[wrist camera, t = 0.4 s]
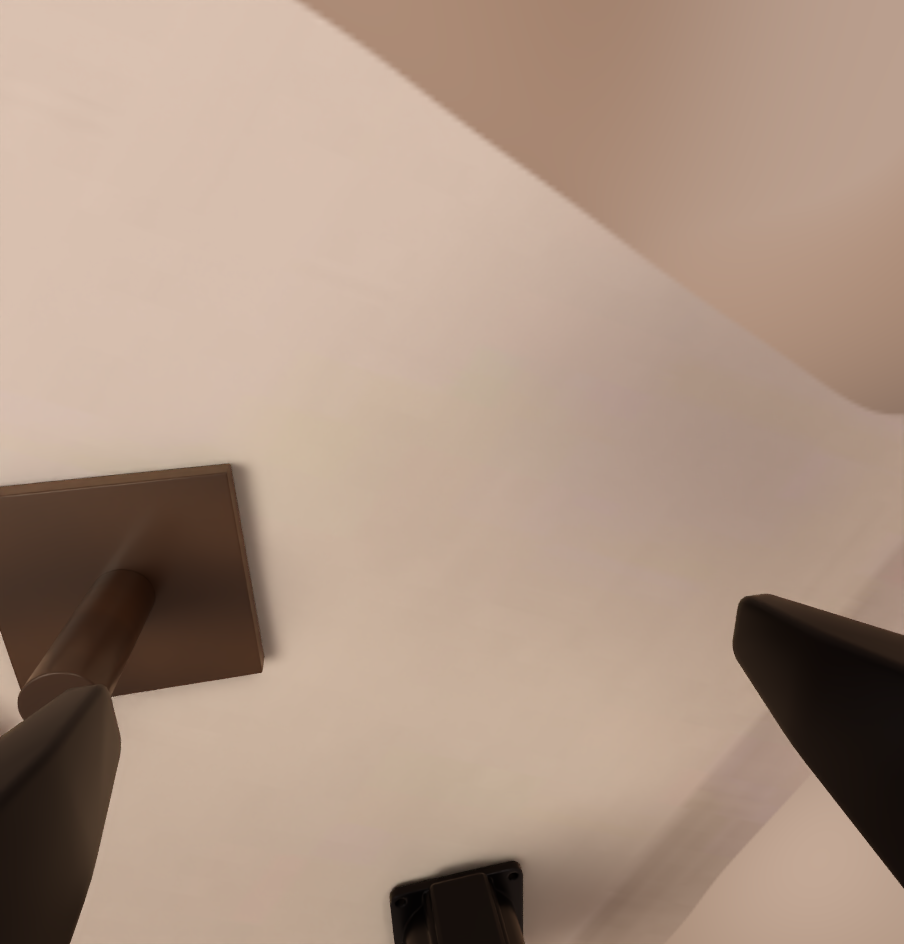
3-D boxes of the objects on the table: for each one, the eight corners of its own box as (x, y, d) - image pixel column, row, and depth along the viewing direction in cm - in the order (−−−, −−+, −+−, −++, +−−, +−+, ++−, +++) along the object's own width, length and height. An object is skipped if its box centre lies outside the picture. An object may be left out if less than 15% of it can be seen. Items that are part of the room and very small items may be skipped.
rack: (264, 657, 24) (246, 792, 18) (39, 692, 22) (-64, 852, 16) (230, 462, 21) (195, 545, 15) (-29, 489, 20) (-182, 591, 14)
